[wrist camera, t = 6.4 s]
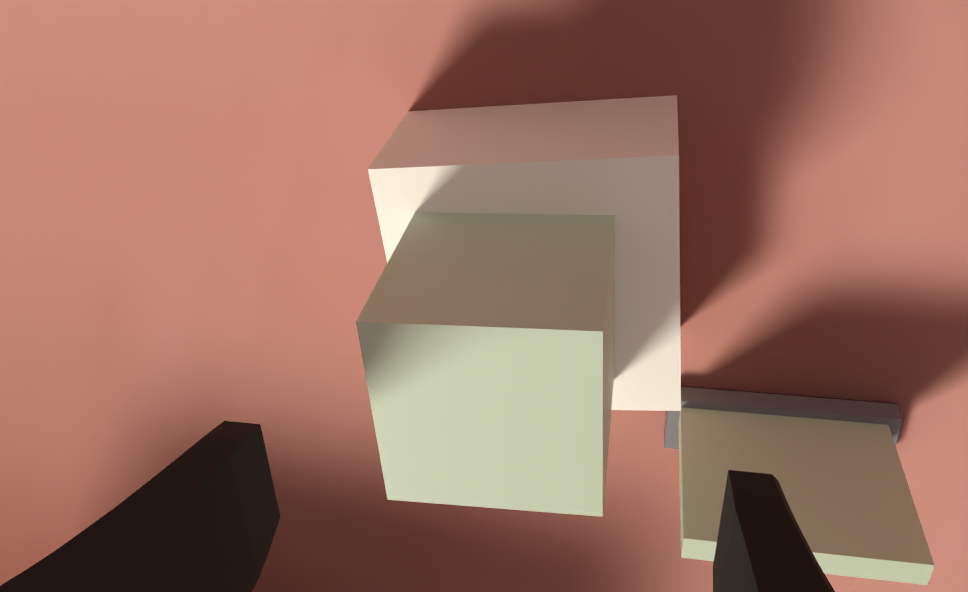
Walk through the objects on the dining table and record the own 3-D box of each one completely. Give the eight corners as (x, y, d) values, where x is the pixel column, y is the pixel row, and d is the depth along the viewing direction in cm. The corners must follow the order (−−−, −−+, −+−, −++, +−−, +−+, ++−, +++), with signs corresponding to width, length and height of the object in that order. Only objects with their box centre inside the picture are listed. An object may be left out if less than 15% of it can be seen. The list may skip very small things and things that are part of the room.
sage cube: (615, 215, 17) (602, 331, 14) (613, 380, 19) (602, 516, 16) (414, 212, 18) (356, 321, 14) (434, 371, 20) (387, 499, 16)
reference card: (897, 404, 22) (952, 560, 18) (884, 452, 23) (933, 612, 18) (669, 385, 23) (669, 530, 19) (664, 432, 24) (664, 581, 19)
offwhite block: (676, 91, 19) (678, 155, 16) (678, 321, 22) (681, 410, 19) (410, 107, 20) (368, 169, 17) (448, 323, 23) (417, 407, 20)
